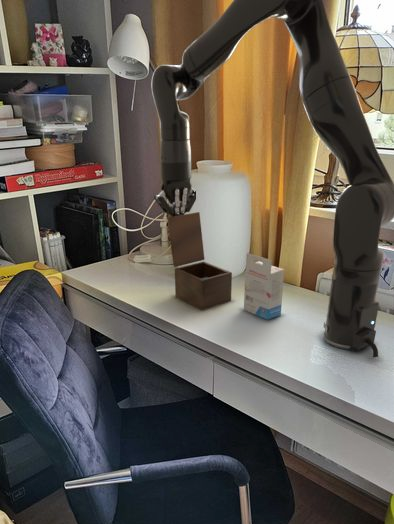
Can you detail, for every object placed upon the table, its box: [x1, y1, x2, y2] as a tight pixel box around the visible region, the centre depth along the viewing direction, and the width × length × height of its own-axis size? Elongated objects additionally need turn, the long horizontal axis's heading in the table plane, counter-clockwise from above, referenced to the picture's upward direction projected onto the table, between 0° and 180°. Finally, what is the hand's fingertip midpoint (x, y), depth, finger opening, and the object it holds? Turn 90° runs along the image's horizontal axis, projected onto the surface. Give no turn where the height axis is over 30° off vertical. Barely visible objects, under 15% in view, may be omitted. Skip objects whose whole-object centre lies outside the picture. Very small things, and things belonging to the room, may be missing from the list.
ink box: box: [243, 252, 285, 321], centre depth 114 cm, size 8×5×15 cm, turn 39°
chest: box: [174, 260, 233, 311], centre depth 124 cm, size 12×10×8 cm
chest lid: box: [167, 211, 205, 268], centre depth 124 cm, size 12×10×1 cm
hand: (178, 229), depth 126 cm, fingers closed
